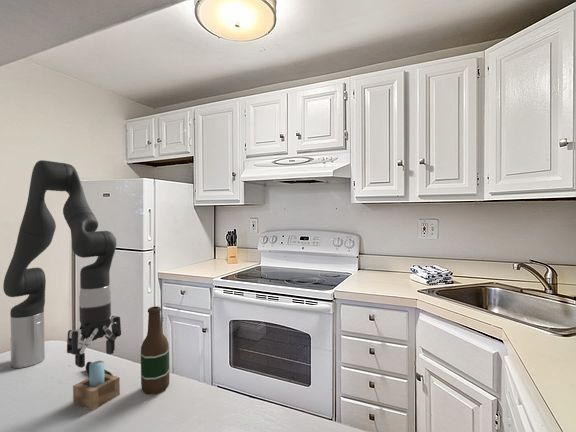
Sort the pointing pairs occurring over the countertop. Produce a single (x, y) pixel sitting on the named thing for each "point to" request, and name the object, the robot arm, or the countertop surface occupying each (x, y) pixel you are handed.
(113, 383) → the socket block
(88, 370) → the electric trimmer
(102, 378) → the peg
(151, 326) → the beer bottle
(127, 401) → the countertop surface
